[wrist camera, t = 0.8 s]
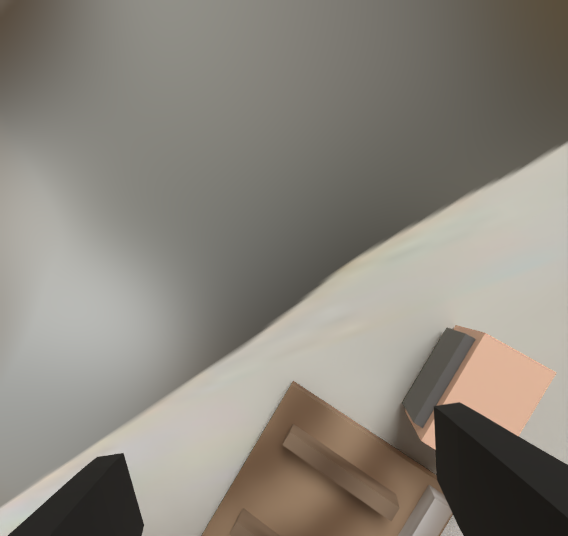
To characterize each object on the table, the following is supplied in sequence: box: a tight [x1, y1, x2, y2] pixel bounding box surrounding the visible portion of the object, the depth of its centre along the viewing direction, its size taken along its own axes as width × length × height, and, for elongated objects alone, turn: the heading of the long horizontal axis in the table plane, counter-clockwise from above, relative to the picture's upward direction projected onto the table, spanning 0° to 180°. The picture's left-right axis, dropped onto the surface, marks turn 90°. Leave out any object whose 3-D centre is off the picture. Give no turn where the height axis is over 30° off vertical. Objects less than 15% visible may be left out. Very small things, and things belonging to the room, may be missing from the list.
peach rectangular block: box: [402, 325, 556, 450], centre depth 21 cm, size 5×7×5 cm, turn 149°
